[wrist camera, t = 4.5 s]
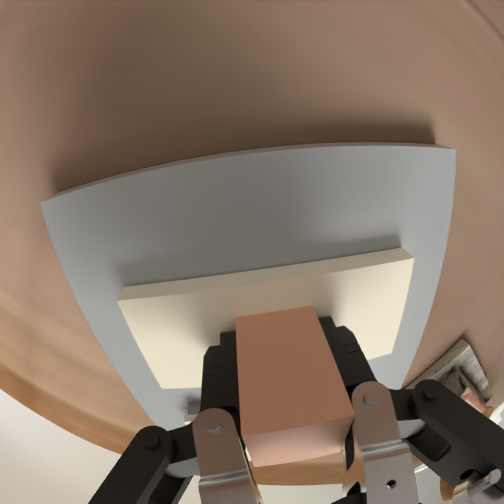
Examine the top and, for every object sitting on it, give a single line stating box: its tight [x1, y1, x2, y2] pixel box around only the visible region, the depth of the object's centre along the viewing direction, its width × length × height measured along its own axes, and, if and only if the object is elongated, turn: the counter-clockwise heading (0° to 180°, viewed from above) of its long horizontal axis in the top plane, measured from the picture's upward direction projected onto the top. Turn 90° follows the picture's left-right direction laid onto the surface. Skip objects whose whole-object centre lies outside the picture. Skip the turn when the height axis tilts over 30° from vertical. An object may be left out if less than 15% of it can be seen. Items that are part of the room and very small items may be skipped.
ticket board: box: [40, 142, 456, 461], centre depth 14 cm, size 18×22×2 cm
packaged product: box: [405, 339, 489, 413], centre depth 20 cm, size 18×5×10 cm
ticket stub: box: [117, 247, 414, 467], centre depth 9 cm, size 12×6×6 cm, turn 97°
